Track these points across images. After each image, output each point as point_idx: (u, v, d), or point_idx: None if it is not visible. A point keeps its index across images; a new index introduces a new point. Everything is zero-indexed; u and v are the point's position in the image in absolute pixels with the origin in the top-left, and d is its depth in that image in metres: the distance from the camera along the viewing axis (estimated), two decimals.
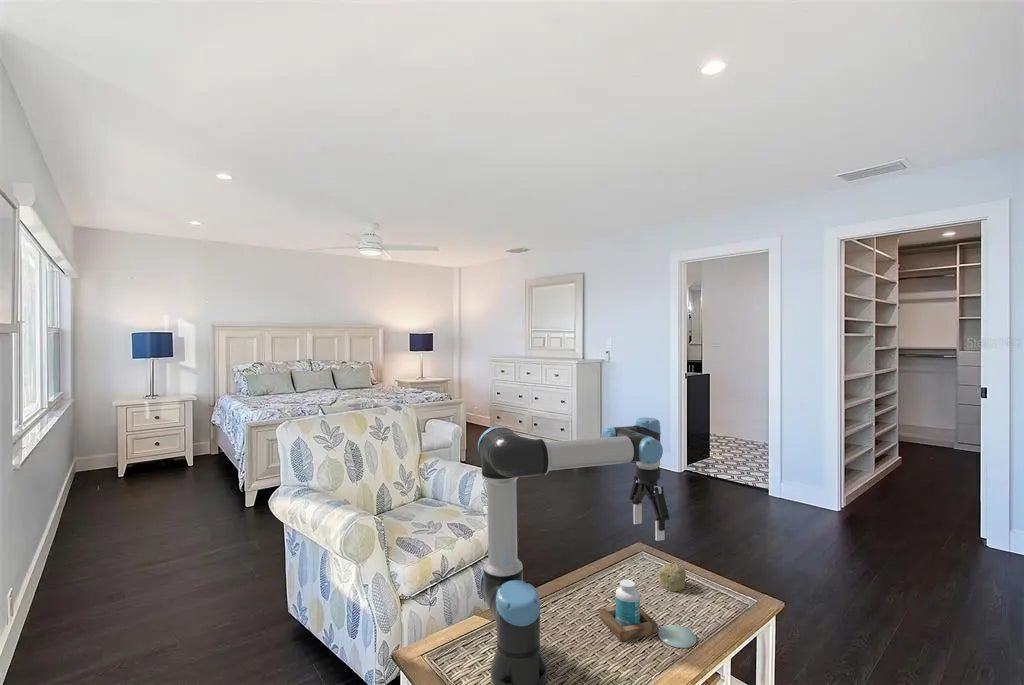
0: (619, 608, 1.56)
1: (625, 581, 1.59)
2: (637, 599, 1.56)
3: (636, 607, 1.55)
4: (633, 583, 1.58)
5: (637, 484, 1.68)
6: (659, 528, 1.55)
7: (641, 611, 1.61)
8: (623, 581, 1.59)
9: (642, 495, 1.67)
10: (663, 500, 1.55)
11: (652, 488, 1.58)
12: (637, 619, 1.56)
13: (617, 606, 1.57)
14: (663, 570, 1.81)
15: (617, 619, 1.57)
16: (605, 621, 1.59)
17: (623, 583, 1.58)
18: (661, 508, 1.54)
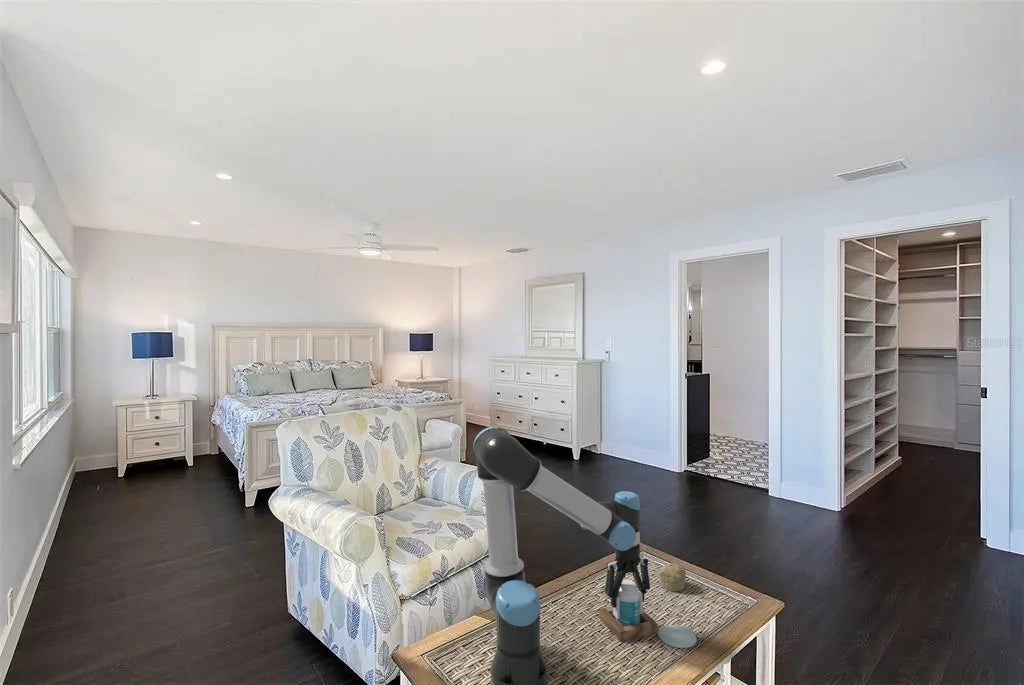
0: None
1: (625, 581, 1.59)
2: (637, 599, 1.56)
3: (636, 607, 1.55)
4: (633, 583, 1.58)
5: (641, 565, 1.60)
6: None
7: None
8: (623, 581, 1.59)
9: (635, 578, 1.59)
10: (609, 578, 1.55)
11: None
12: (637, 619, 1.56)
13: None
14: (663, 570, 1.81)
15: (617, 619, 1.57)
16: (605, 621, 1.59)
17: (623, 583, 1.58)
18: (606, 583, 1.57)
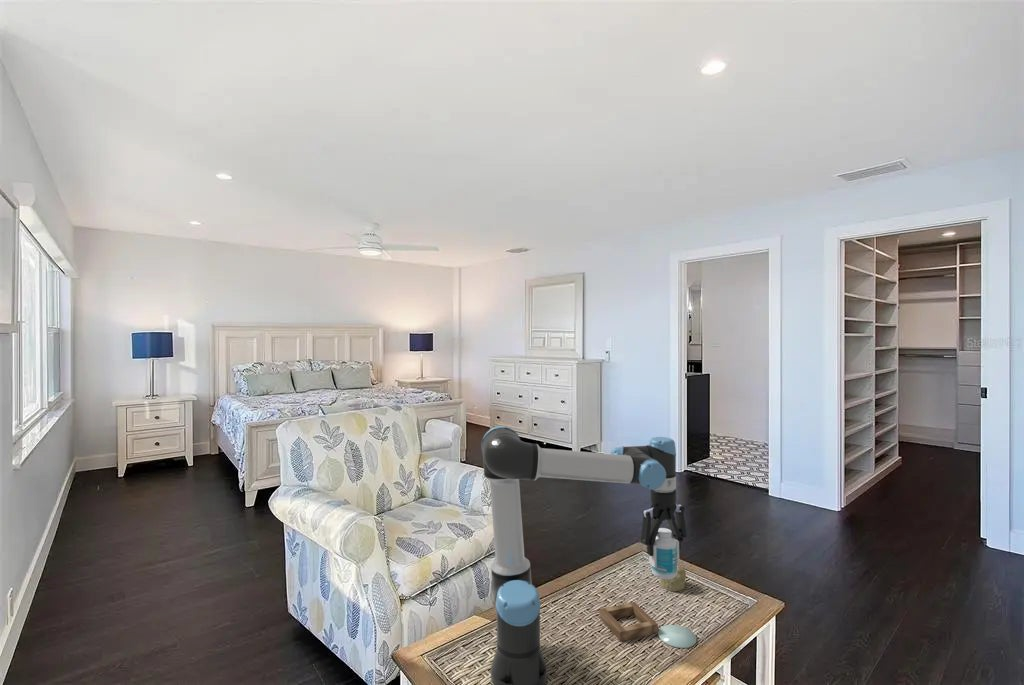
0: None
1: (661, 529, 1.54)
2: (674, 546, 1.51)
3: (674, 554, 1.51)
4: (669, 531, 1.53)
5: (677, 513, 1.55)
6: None
7: (641, 611, 1.61)
8: None
9: (672, 525, 1.54)
10: (646, 525, 1.50)
11: None
12: (674, 567, 1.51)
13: None
14: None
15: (654, 568, 1.52)
16: (605, 621, 1.59)
17: (658, 531, 1.53)
18: (642, 531, 1.52)
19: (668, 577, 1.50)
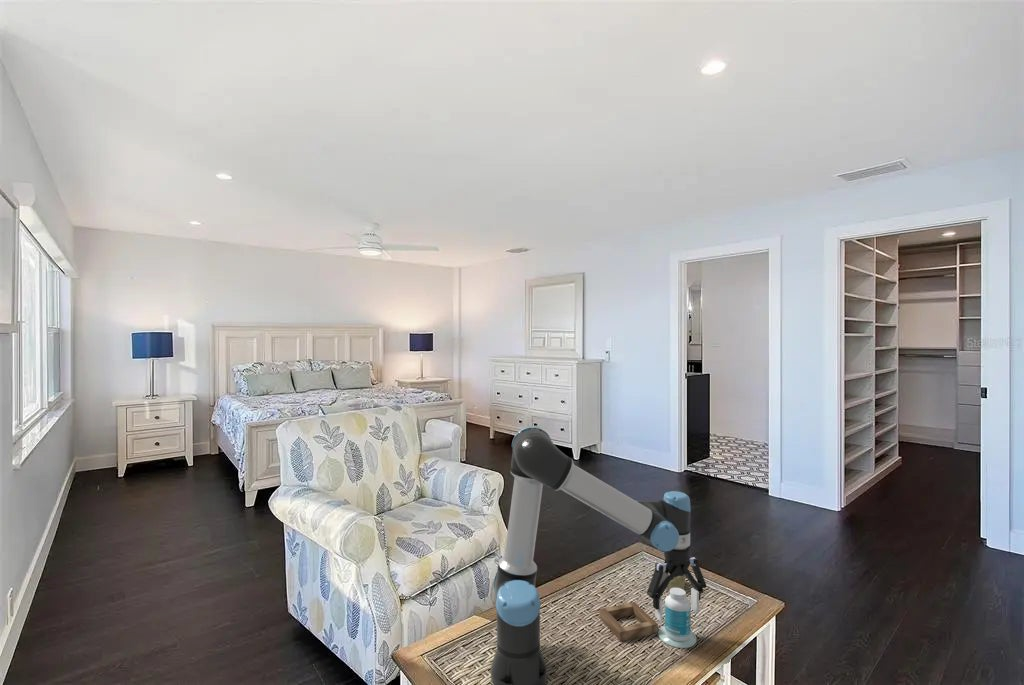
0: (669, 618, 1.50)
1: (675, 589, 1.53)
2: (688, 608, 1.49)
3: (688, 617, 1.49)
4: (683, 591, 1.52)
5: (692, 566, 1.54)
6: None
7: (641, 611, 1.61)
8: (672, 589, 1.53)
9: (689, 579, 1.53)
10: (656, 578, 1.49)
11: None
12: (688, 629, 1.50)
13: (667, 615, 1.51)
14: None
15: (667, 629, 1.51)
16: (605, 621, 1.59)
17: (673, 591, 1.52)
18: (651, 583, 1.50)
19: (682, 639, 1.49)
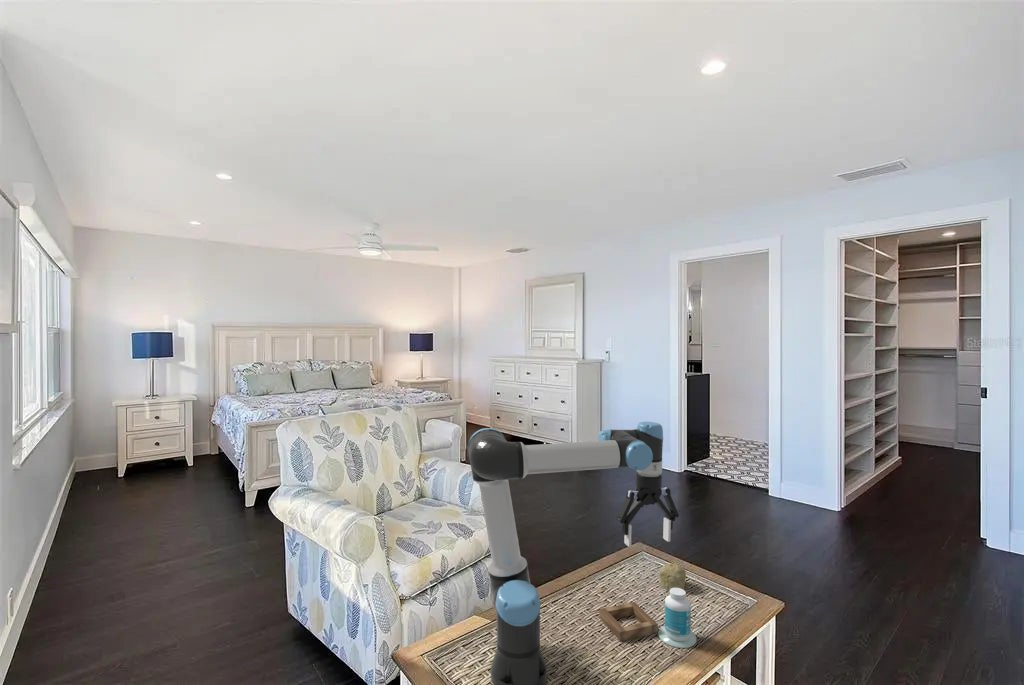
0: (669, 618, 1.50)
1: (675, 589, 1.53)
2: (688, 608, 1.49)
3: (688, 617, 1.49)
4: (683, 591, 1.52)
5: (664, 496, 1.55)
6: None
7: (641, 611, 1.61)
8: (672, 589, 1.53)
9: (661, 508, 1.54)
10: (626, 504, 1.50)
11: None
12: (688, 629, 1.50)
13: (667, 615, 1.51)
14: (663, 570, 1.81)
15: (667, 629, 1.51)
16: (605, 621, 1.59)
17: (673, 591, 1.52)
18: (621, 509, 1.51)
19: (682, 639, 1.49)
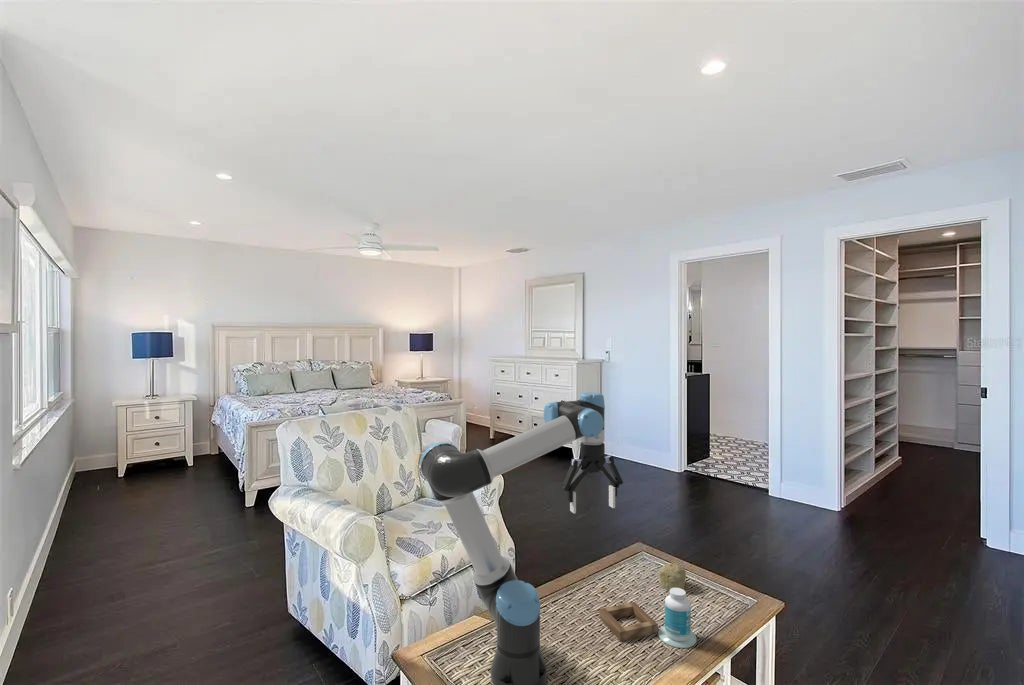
0: (669, 618, 1.50)
1: (675, 589, 1.53)
2: (688, 608, 1.49)
3: (688, 617, 1.49)
4: (683, 591, 1.52)
5: (608, 464, 1.60)
6: None
7: (641, 611, 1.61)
8: (672, 589, 1.53)
9: (605, 475, 1.59)
10: (570, 472, 1.55)
11: None
12: (688, 629, 1.50)
13: (667, 615, 1.51)
14: (663, 570, 1.81)
15: (667, 629, 1.51)
16: (605, 621, 1.59)
17: (673, 591, 1.52)
18: (565, 478, 1.56)
19: (682, 639, 1.49)
